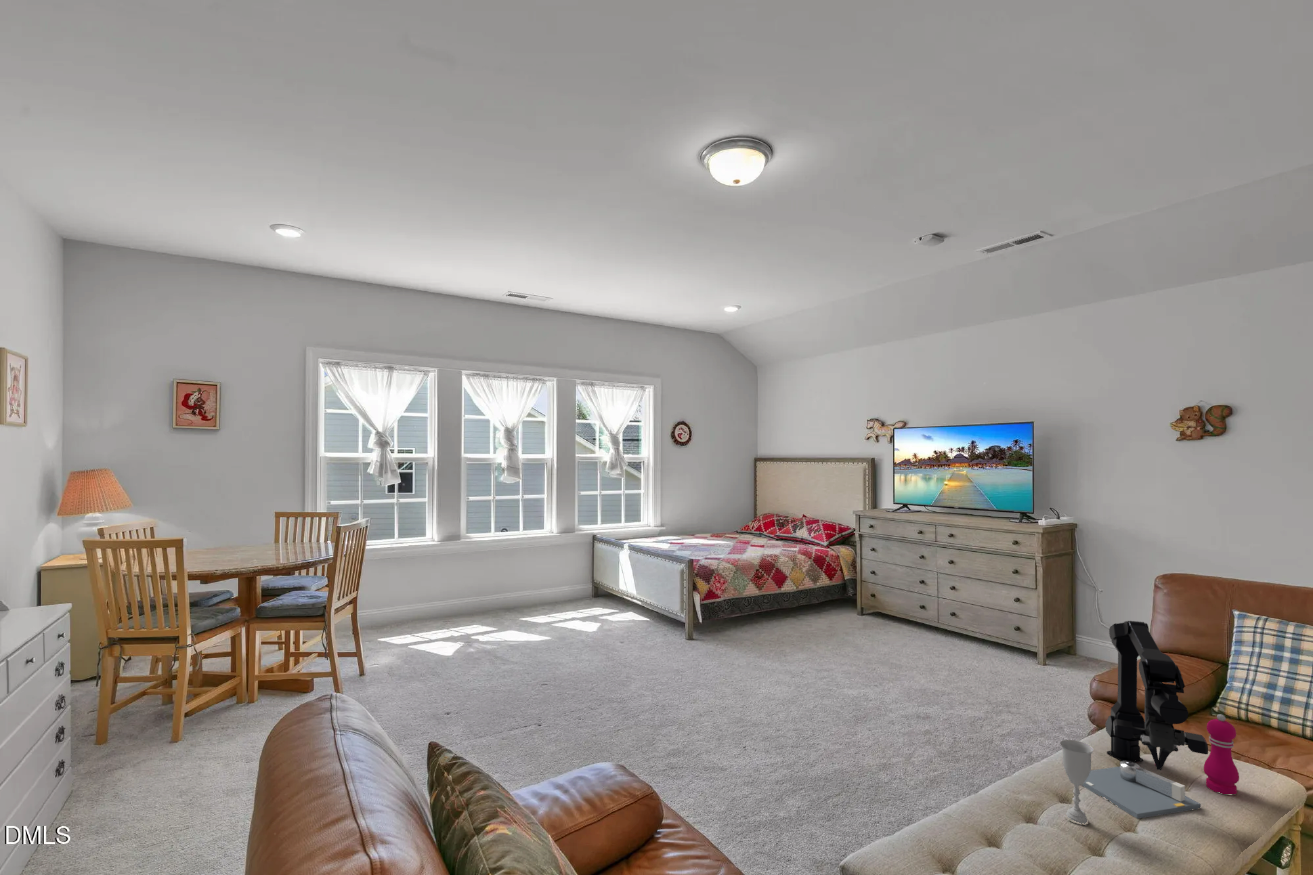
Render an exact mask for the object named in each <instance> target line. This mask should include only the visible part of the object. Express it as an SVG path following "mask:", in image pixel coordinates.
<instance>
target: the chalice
mask: <svg viewBox="0 0 1313 875" xmlns="http://www.w3.org/2000/svg"><path fill="white" fill-rule="evenodd" d="M1059 745H1060V746H1061V748H1062V749H1061V750H1062V754H1061V756H1062V766H1063V769H1064V771H1065V774H1066V776H1067V778H1068V781H1069V782H1070V783H1071V784H1073V785H1074V787H1073V790H1072V792H1073V795H1074V796H1073V797H1072V801H1073V804H1074V805H1073V806H1070V807H1069V808H1068V809H1067V811H1066V813H1065V814H1066V815H1067V817H1068V818H1071V820H1074V821H1076V822H1079V823H1081V824H1082V823H1084V824H1085V823H1086V822H1087V820H1088V818H1087V815H1086V813H1085V811H1084V810H1082V809H1081V808H1080V802H1081V801H1082V800H1081V799H1080V797H1079V796H1080V795H1081V791H1080V789H1079V788H1080V786H1082V785H1083V784H1084V782H1085V781H1086V779H1087V777H1088V775H1089V773H1090V771H1091V770H1092V753H1093V752H1094V747H1092V746H1091V745H1090V744H1088V743H1086V742H1084V741H1080V740H1076V739H1075V740H1074V739H1065V740H1061V741H1060V742H1059Z"/></svg>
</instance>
